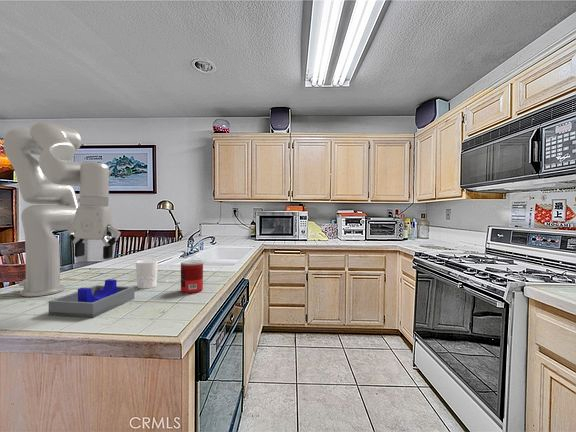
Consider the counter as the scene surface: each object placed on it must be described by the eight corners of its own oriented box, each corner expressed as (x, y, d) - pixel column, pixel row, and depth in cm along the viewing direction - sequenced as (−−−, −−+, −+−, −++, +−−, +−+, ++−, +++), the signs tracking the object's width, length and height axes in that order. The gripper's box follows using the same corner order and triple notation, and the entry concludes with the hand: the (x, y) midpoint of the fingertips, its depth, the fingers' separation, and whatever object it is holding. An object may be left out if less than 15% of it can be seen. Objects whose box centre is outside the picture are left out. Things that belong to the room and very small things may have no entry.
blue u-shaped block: (104, 296, 99) (104, 279, 99) (116, 297, 98) (116, 279, 98) (73, 308, 87) (73, 288, 87) (87, 309, 87) (86, 289, 86)
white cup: (162, 285, 117) (162, 260, 117) (143, 290, 111) (143, 263, 111) (150, 283, 122) (150, 258, 121) (131, 287, 115) (131, 261, 115)
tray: (48, 315, 85) (48, 301, 85) (96, 296, 102) (96, 285, 102) (93, 317, 83) (93, 303, 83) (134, 298, 101) (134, 286, 101)
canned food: (207, 289, 113) (207, 260, 112) (192, 295, 105) (192, 264, 105) (191, 287, 116) (191, 259, 116) (176, 292, 109) (176, 262, 108)
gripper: (58, 201, 89) (58, 257, 90) (111, 203, 87) (110, 261, 88) (79, 201, 97) (78, 253, 97) (128, 203, 95) (127, 256, 95)
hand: (93, 257), depth 93 cm, fingers open, 9 cm apart
